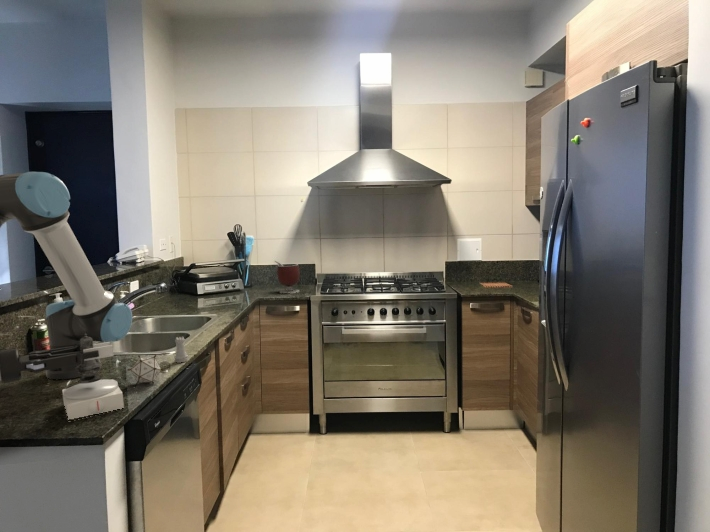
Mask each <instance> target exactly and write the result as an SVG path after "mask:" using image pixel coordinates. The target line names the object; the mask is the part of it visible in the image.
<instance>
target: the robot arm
mask: <svg viewBox="0 0 710 532" xmlns="http://www.w3.org/2000/svg"><path fill="white" fill-rule="evenodd" d="M70 200H71V195H70V192H69V189H68V188H67V186H66V184H65V183H64V182H63V180H61V179H60V178H59V177H57V176H55V175H54V174H51V173H49V172H44V171H27V172H20V173H11V174H10V173H9V174H0V228H1V227H2V226H3V225H4V224H5V223H7V222H9V221H11V220H17V222H18V224H19V225H20V227H21V229H22V230H23V231H24V232H25V233H29V234H33V237H34V238H35V239H36V240H37V242H38V244H39V245H40V248H41V250H42V251H43V253H44V255H45V256H46V257H47V259H48V261H49V264H50V265H51V266H52V268H53V270H54V271H55V273H56V274H57V276H58V278H59V280H60V281H61V283H62V284H63V287H64V288H65V290H66V291H67V293H68V295H69V296H70V298H71V299H68V300H63V301H58V302H55V303H54V302H53V303H49V304H48V305H47V306H46V308H45V315H46V316H45V320H46V321H45V322H46V327H47V336H48V343H49V345H48V346H49V349H43V350H33V351H31V352H28V354H26V355H22V356H20V354H19V348H18V349H17V348H9V349H3V350H0V382H1V383H3V384H7V383H13V382H18V381H21V379H22V372H27V371H30V372H31V373H34V374H38V373H40V372H44V371H45V378H46V377H47V378H46V379H48V378H49V380H52V379H56V380H58V379H62V380H71V379H77V378H82V377H81V376H80V375H78V373H77V370H76V369H75V368H76V367H77V366H79V365H80V364H82V365H84V364H85V363H84V361H87V360H93V359H95V360H96V362H97V363H101V364H102V362H101V359H104V358H109V357H114V348H113V347H114V346H113V344H111V343H112V342H118V341H119V342H120V341H121V340H123V339H124V338H125V337H127V335H128V333H129V332H130V330H131V327H132V323H133V312H132V309H131V308H130V306H129V305H127V304H125V303H123V302H118V301H117V299H116V298H115V295H114V294H113V292H112V291H109V290H105V289H104V286H103V285H102V284H101V281H100V280H99V277H98V276H97V274H96V272H95V270H94V269H93V267H92V265H91V263H90V261H89V260H88V258H87V256H86V253H85V252H84V250H83V248H82V246H81V244H80V243H79V241H78V240H77V237H76V236H75V234H74V231H73V230H72V228H71V226H70V224H69V223H68V219H69V216H70V212H69V208H70V207H71V206H70V205H71V202H70ZM85 333H86V334H87V336H88V337H91V338H92V340H93V342H100V343H95V344H94V343H93V348H90V349H84V350H83V351H81V350H80V339H81V338H83V337H85ZM100 367H101V368H102V365H101V366H100ZM56 380H55V381H56ZM58 381H59V380H58Z"/></svg>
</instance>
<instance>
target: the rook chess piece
mask: <svg viewBox="0 0 710 532" xmlns="http://www.w3.org/2000/svg"><path fill="white" fill-rule="evenodd" d="M185 341H186V339H185V338H184V336H179V337H178V336H177V337H175V339H174V342H175V347H176V353H175V355H174V362H175V363H176V362H177V363H176V364H182V363H181V362H183V363H186V362H188V360H189V358H188V357H189V355H188V353H187V352H186V349H185Z"/></svg>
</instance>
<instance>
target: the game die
mask: <svg viewBox="0 0 710 532" xmlns="http://www.w3.org/2000/svg"><path fill="white" fill-rule="evenodd" d="M137 356H138V359H137V360H136V362H134V364H133V365H132V367H131V368H128V369H126V370H127V371H131V373H132V375H133V377H134V379H135V381H136V383H135V385H136V386H137V385H139V383H151V384H152V385H155V382H154V381H155V379H156V378H157V377H158V376H159V374H160V372H161V371H162V372H163V371H165V369H164V368H162V367H161V365H160V364H159V362H158V361H157V359H156V357H157V354H154V355H153V356H145V357H143V356H142V357H141V356H140V355H139V354H138V355H137Z"/></svg>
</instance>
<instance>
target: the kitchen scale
mask: <svg viewBox="0 0 710 532" xmlns="http://www.w3.org/2000/svg"><path fill="white" fill-rule="evenodd" d="M62 399H63V407H64V406H65V407H64V410H65V409H66V410H65V414H66V413H67V414H66V417H67V416H68V418H67V421H68V420H69V419H74V418H79V417H84V416H88V415H93V414H99V413H103V412H107V413H109V412H108V411H111V412H114V411H113V410H116V411H118V410H117V409H120V410H123V409H122V408H124V409H125V403H124V395H123V391H122V390H121V388H120V387H119V384H118V381H117V380H115V379H114V378H113V379H100V380H98V381H96V382H92V383H83V384H82V383H77V384H74V385H72V386H70V387H68V388H63V389H62ZM103 414H104V413H103ZM99 415H100V414H99Z"/></svg>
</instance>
